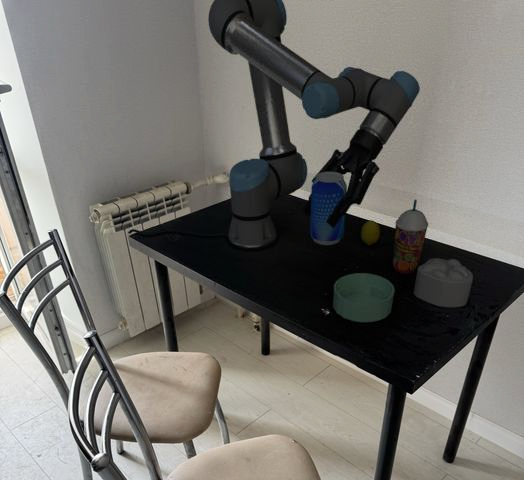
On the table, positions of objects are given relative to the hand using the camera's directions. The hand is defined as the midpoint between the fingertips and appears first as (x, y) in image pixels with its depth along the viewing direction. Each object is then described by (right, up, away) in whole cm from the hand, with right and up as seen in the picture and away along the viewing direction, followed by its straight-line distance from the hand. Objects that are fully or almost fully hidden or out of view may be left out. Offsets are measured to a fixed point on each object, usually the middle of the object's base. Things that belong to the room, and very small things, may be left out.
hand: (317, 218), depth 122 cm
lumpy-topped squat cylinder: (+33, -18, +7) cm, 38 cm away
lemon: (+19, 0, +30) cm, 36 cm away
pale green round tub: (+12, -21, +4) cm, 24 cm away
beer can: (+3, -4, +5) cm, 7 cm away
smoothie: (+26, -10, +18) cm, 33 cm away
